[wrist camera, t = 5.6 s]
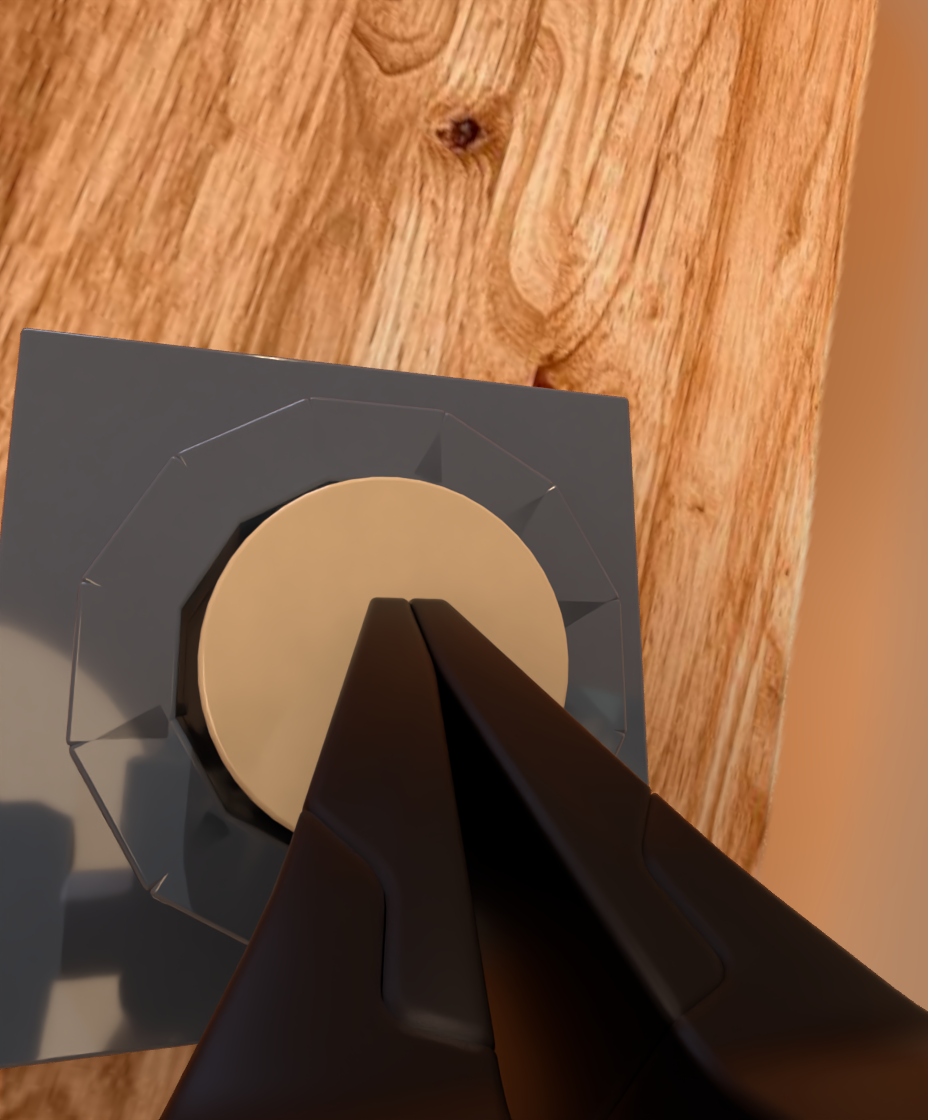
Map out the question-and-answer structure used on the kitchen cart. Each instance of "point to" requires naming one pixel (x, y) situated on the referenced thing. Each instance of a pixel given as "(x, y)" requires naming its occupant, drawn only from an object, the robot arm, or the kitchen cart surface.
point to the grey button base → (174, 633)
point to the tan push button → (352, 616)
